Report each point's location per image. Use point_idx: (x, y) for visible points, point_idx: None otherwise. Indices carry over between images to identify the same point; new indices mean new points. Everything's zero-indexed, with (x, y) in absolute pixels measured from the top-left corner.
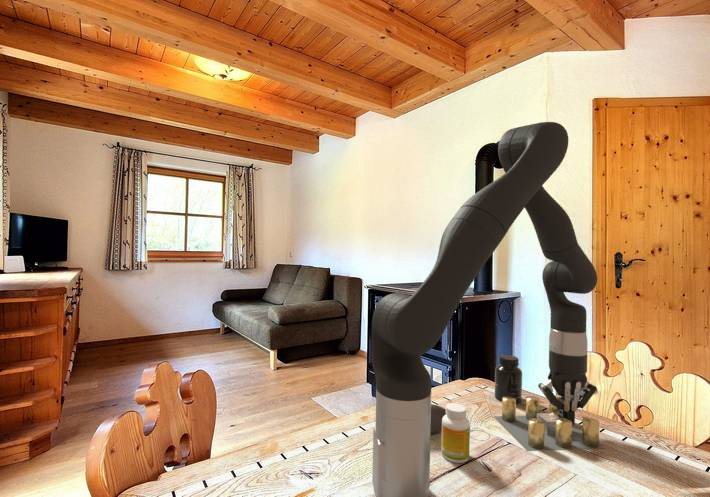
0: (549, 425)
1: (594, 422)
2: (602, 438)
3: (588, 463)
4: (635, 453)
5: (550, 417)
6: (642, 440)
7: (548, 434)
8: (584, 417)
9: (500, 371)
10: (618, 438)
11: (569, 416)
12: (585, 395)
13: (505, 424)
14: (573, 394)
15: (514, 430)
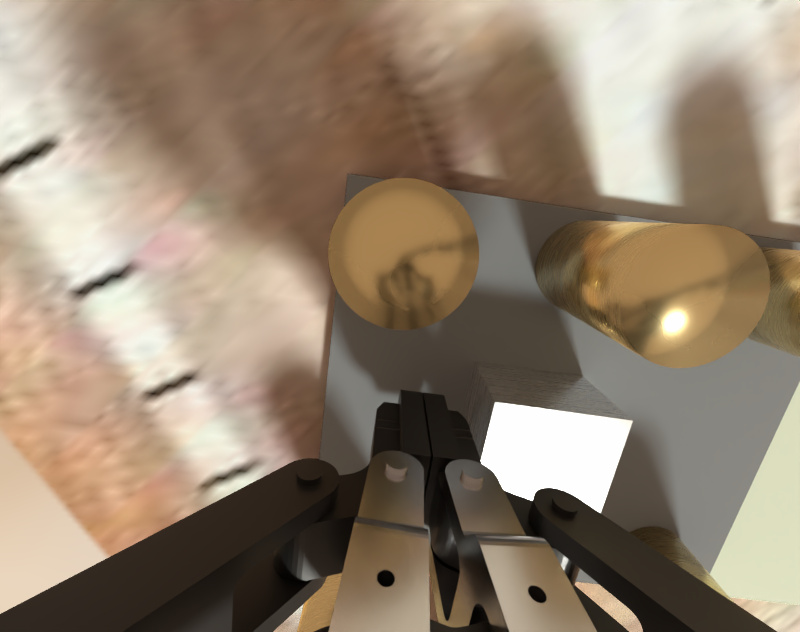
0: (598, 404)
1: (409, 206)
2: (244, 306)
3: (578, 78)
4: (175, 115)
5: (548, 469)
6: (2, 239)
7: (574, 377)
8: (417, 322)
9: None
10: (142, 288)
11: (434, 431)
12: (205, 584)
13: (710, 516)
14: (428, 621)
15: (722, 454)
